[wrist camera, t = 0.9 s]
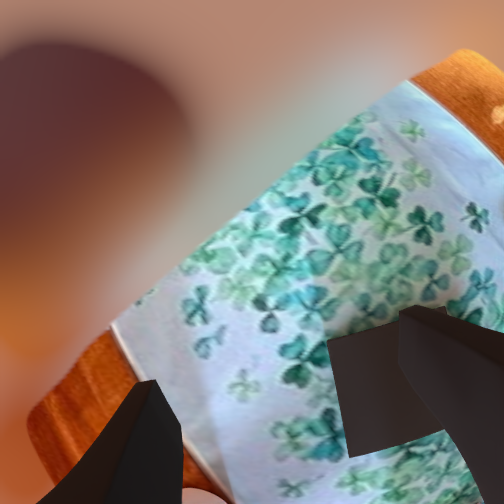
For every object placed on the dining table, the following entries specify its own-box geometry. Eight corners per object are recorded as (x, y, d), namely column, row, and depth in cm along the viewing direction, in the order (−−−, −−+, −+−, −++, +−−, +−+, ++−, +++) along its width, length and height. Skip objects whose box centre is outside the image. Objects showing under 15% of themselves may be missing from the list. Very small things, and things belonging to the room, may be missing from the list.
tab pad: (478, 404, 17) (490, 409, 15) (347, 448, 18) (349, 458, 16) (459, 299, 19) (470, 296, 17) (326, 340, 21) (326, 340, 19)
